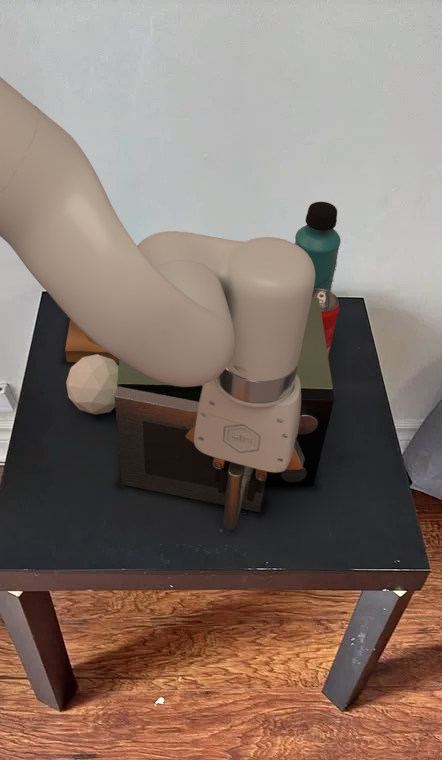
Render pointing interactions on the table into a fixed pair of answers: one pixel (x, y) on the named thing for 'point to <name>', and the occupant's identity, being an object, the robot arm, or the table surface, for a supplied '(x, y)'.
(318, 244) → the beverage bottle
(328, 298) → the beverage can
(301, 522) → the table surface
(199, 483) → the microwave door
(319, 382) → the microwave
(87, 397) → the geometric ball
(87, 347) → the button block
